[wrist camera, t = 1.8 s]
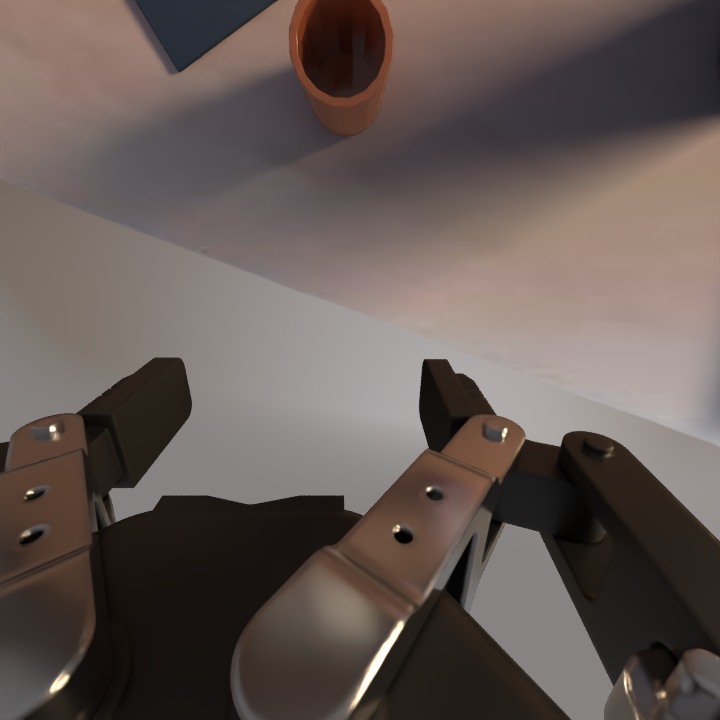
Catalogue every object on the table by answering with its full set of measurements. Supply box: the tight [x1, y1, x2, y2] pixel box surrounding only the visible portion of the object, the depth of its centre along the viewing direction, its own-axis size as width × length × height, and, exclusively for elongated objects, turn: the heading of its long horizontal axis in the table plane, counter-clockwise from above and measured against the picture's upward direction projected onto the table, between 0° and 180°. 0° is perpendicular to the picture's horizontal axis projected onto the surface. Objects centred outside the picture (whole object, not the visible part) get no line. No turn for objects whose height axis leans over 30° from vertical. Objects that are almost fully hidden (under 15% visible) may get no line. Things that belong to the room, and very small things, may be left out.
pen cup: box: [289, 0, 394, 136], centre depth 24 cm, size 6×6×10 cm
